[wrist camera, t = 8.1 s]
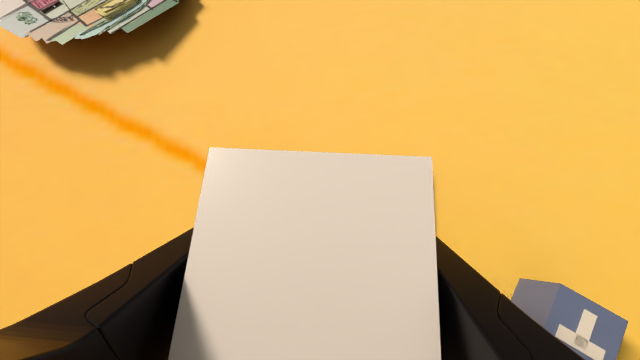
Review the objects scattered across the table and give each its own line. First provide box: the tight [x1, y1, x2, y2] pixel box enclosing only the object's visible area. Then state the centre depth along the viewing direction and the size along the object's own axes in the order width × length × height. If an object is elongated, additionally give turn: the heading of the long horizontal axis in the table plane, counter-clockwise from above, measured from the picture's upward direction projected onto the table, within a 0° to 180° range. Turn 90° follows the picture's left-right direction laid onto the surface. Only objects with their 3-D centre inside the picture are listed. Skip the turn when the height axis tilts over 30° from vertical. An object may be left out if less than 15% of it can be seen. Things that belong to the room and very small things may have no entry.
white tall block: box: [168, 147, 441, 360], centre depth 11 cm, size 6×6×10 cm
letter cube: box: [511, 278, 628, 360], centre depth 18 cm, size 4×4×4 cm
